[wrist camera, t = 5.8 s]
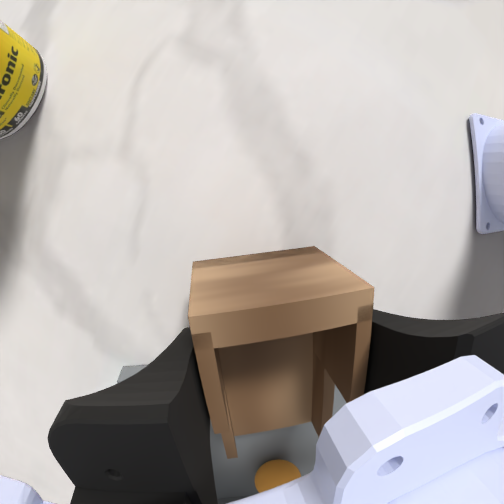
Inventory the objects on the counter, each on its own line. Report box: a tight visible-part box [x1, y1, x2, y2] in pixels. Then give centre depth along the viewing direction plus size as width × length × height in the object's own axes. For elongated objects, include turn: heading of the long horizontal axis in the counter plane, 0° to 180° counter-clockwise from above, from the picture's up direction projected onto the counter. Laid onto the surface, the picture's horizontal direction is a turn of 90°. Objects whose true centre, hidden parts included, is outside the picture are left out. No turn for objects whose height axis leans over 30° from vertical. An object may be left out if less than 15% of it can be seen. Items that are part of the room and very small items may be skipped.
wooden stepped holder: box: [188, 246, 374, 459], centre depth 11 cm, size 5×9×5 cm, turn 6°
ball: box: [255, 459, 301, 493], centre depth 16 cm, size 3×3×3 cm
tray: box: [117, 365, 346, 504], centre depth 16 cm, size 18×14×4 cm
